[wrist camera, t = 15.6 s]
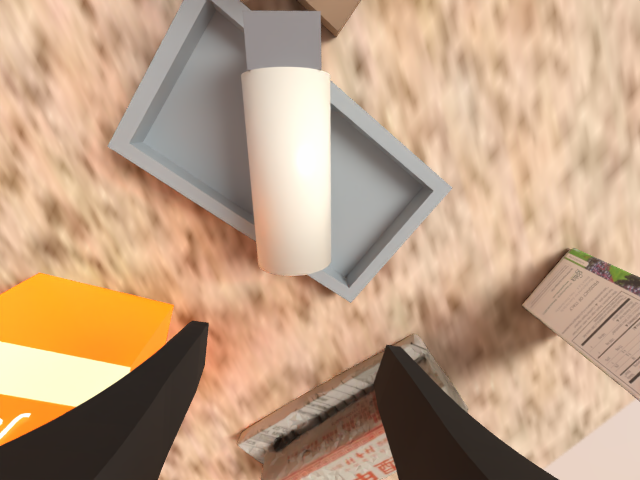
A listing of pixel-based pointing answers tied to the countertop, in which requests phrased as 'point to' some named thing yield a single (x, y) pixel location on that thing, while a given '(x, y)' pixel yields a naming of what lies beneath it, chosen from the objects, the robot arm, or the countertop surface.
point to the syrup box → (594, 314)
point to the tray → (232, 152)
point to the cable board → (332, 12)
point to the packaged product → (335, 426)
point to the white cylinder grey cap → (288, 140)
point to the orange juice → (68, 346)
